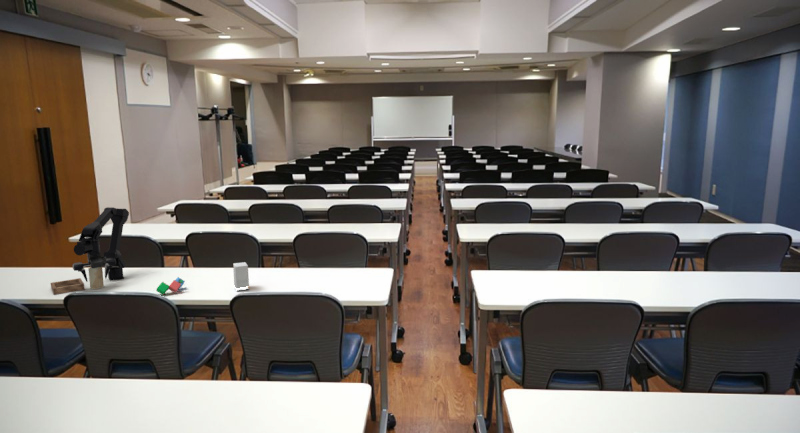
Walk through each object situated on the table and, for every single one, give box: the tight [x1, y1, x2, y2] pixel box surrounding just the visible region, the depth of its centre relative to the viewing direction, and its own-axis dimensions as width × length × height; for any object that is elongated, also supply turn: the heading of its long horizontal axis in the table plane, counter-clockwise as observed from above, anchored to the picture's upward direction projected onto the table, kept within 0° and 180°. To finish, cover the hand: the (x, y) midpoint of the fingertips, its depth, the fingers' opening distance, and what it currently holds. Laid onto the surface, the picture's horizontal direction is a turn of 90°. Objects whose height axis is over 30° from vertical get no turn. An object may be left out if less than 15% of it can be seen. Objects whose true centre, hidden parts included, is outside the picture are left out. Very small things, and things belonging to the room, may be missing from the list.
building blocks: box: [156, 276, 186, 296], centre depth 249 cm, size 8×8×12 cm
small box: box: [232, 261, 250, 288], centre depth 254 cm, size 8×6×13 cm
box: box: [87, 266, 105, 290], centre depth 256 cm, size 5×4×11 cm
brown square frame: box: [50, 278, 85, 296], centre depth 254 cm, size 13×13×3 cm
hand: (96, 280), depth 256 cm, fingers open, 8 cm apart
